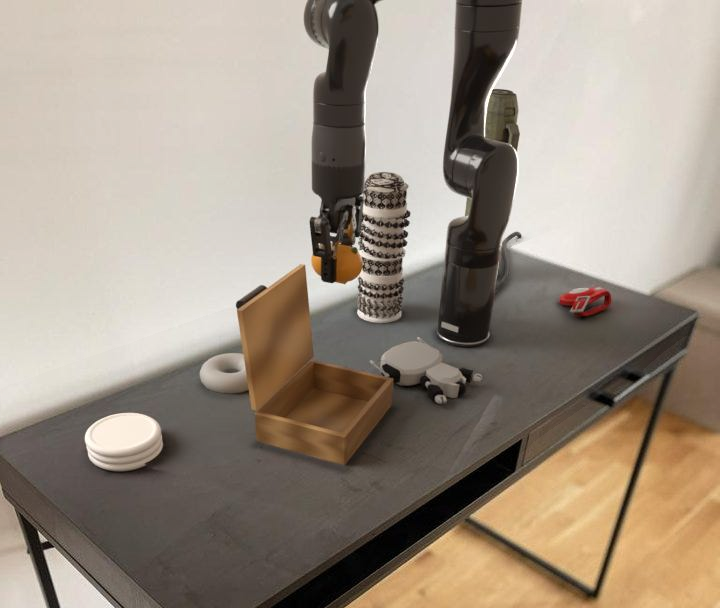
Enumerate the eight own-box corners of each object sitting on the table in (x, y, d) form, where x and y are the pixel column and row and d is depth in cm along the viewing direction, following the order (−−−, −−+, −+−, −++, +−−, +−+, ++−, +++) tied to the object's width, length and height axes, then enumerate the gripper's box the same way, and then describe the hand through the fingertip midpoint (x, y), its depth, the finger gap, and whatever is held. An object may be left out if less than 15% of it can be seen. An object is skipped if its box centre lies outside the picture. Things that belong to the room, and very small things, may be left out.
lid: (305, 264, 108) (275, 261, 110) (242, 310, 95) (209, 306, 97) (313, 356, 116) (286, 352, 118) (256, 410, 103) (226, 405, 105)
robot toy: (484, 392, 122) (412, 355, 129) (489, 368, 119) (416, 331, 126) (437, 421, 115) (364, 380, 122) (442, 396, 112) (367, 355, 119)
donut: (191, 395, 117) (253, 402, 116) (188, 375, 115) (251, 382, 114) (214, 365, 125) (272, 371, 124) (211, 346, 123) (270, 352, 122)
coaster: (74, 453, 104) (68, 431, 102) (134, 424, 110) (130, 403, 108) (118, 482, 99) (113, 460, 97) (178, 450, 105) (175, 429, 103)
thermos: (482, 287, 155) (508, 99, 134) (442, 269, 162) (461, 88, 141) (512, 278, 159) (541, 94, 138) (472, 261, 167) (493, 84, 146)
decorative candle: (396, 327, 139) (405, 186, 124) (348, 319, 141) (351, 179, 126) (409, 307, 146) (419, 172, 131) (363, 300, 148) (367, 166, 133)
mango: (305, 279, 115) (305, 244, 112) (320, 268, 119) (320, 234, 115) (353, 289, 112) (354, 254, 109) (367, 277, 116) (368, 243, 113)
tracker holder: (550, 291, 151) (598, 278, 151) (553, 313, 153) (600, 299, 153) (572, 302, 140) (624, 288, 140) (575, 325, 142) (626, 311, 142)
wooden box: (391, 409, 116) (393, 378, 112) (344, 469, 103) (344, 437, 99) (311, 389, 120) (311, 359, 117) (256, 445, 107) (254, 413, 104)
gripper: (341, 173, 99) (339, 296, 109) (383, 149, 109) (377, 264, 119) (290, 165, 101) (293, 287, 111) (335, 143, 111) (334, 256, 122)
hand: (337, 274), depth 115 cm, fingers closed on mango, 5 cm apart
